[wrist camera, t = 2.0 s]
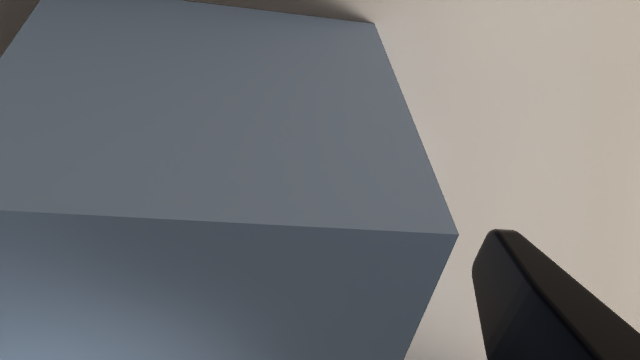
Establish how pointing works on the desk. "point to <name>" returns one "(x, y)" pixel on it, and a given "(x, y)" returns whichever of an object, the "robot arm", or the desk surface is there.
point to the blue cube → (210, 188)
